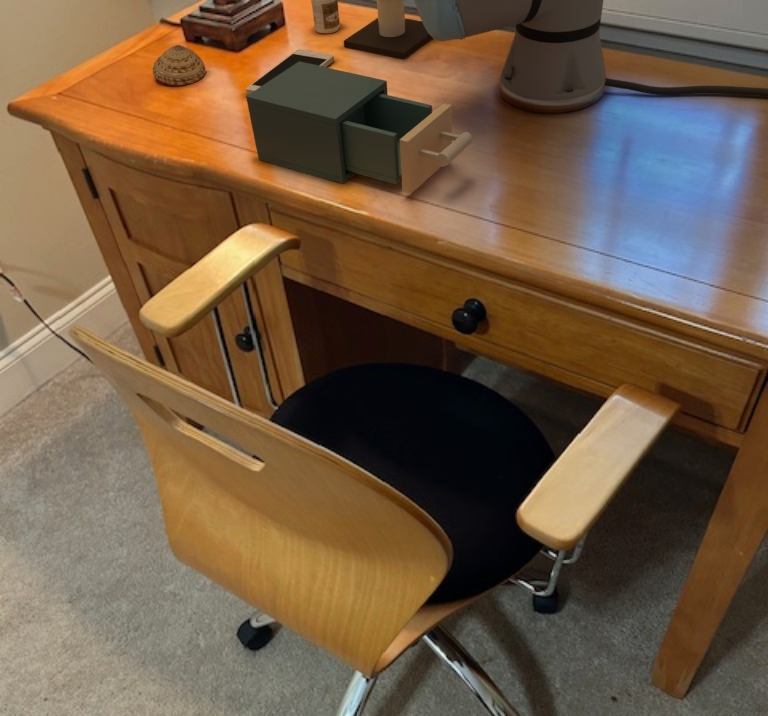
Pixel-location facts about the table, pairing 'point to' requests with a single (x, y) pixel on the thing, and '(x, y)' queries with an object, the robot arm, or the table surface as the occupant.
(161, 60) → the seashell
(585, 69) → the robot arm
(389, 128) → the drawer
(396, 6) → the spice pot
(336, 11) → the pill bottle
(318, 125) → the cabinet
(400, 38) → the coaster
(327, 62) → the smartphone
